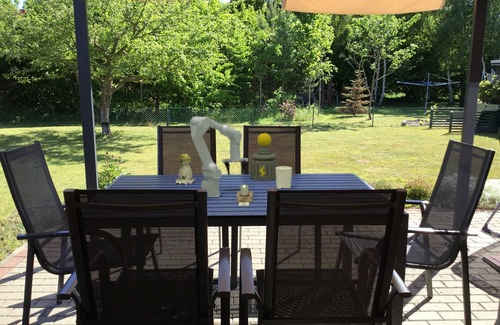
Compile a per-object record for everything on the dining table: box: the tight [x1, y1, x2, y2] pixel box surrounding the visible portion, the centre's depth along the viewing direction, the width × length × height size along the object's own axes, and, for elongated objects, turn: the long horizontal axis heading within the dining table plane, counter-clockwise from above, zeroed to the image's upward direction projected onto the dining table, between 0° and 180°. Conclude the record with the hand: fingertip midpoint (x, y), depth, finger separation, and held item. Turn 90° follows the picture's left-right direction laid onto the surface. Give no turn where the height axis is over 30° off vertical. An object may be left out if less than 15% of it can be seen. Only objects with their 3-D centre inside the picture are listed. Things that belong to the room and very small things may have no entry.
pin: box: [240, 184, 249, 197], centre depth 216 cm, size 4×4×8 cm
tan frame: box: [236, 190, 254, 203], centre depth 220 cm, size 8×14×2 cm, turn 179°
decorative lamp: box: [249, 132, 280, 182], centre depth 274 cm, size 19×19×30 cm
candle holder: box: [275, 166, 293, 190], centre depth 245 cm, size 10×10×12 cm
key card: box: [238, 202, 250, 207], centre depth 208 cm, size 5×6×1 cm
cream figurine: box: [175, 153, 195, 185], centre depth 263 cm, size 12×13×18 cm
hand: (235, 174), depth 238 cm, fingers open, 7 cm apart
